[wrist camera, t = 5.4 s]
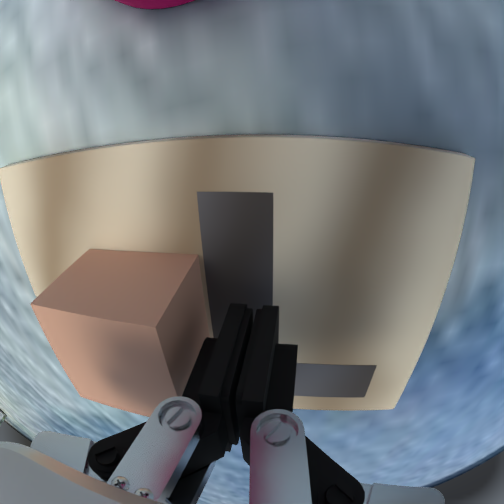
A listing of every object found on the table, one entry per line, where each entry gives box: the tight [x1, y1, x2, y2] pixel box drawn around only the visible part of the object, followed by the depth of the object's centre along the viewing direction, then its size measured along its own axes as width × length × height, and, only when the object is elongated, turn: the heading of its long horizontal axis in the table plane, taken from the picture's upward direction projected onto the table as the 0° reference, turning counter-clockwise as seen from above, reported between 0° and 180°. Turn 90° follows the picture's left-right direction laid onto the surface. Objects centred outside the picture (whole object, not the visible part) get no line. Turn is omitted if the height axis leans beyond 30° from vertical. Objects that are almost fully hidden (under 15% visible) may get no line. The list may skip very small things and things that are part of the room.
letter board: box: [0, 134, 475, 410], centre depth 13 cm, size 20×13×1 cm, turn 91°
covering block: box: [31, 249, 210, 417], centre depth 11 cm, size 5×5×4 cm
